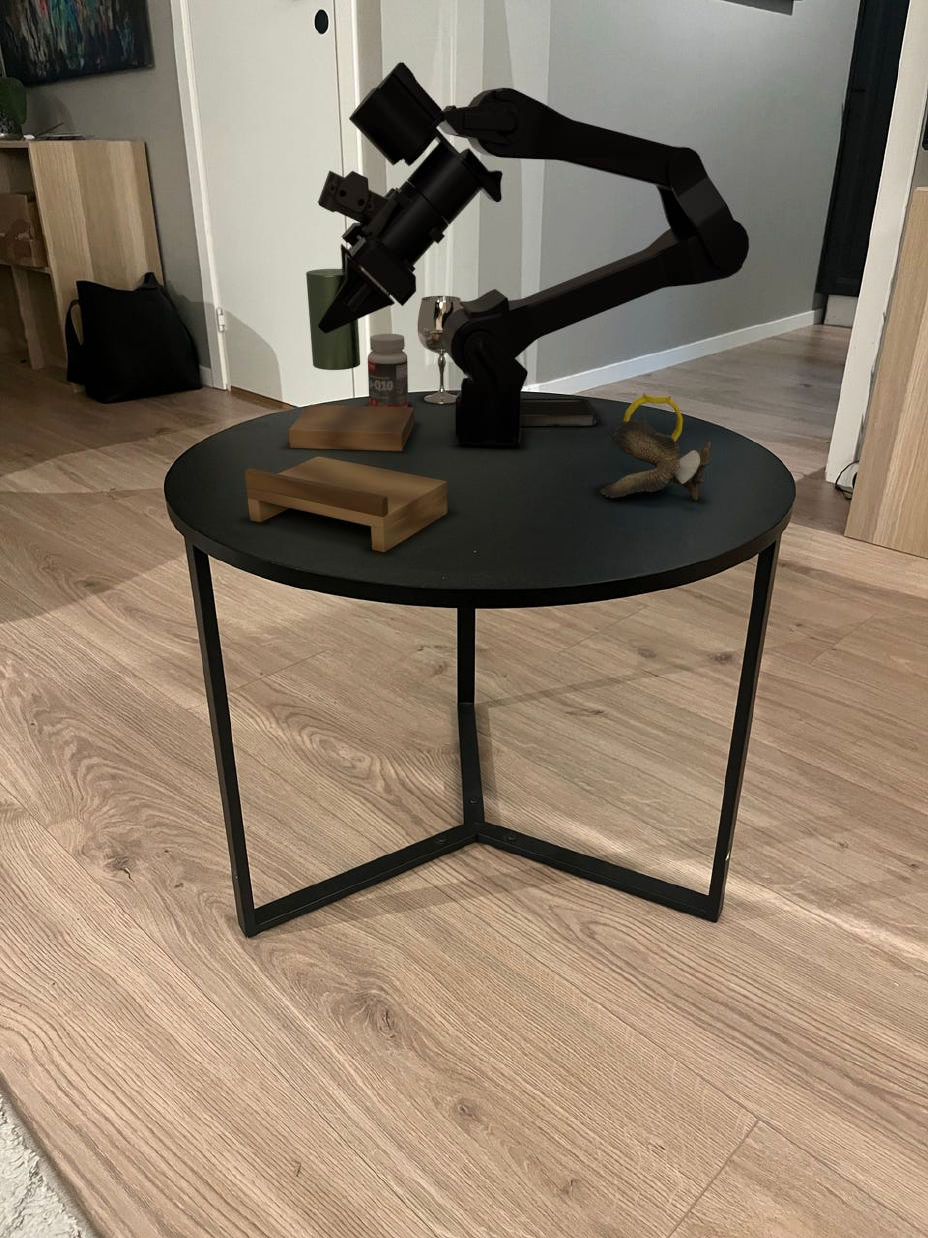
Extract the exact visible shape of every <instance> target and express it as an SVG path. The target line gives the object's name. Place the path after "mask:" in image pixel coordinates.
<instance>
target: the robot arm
mask: <svg viewBox="0 0 928 1238" xmlns="http://www.w3.org/2000/svg"><path fill="white" fill-rule="evenodd" d="M348 120H349V121H350V122H351V123H352V124H353V125H354V126H355V127H356V128H357V130H359V131H360V133H361V134H362V135H363V136H364V137H365V139H367V140H368V141H369V143H371V145H373V146H374V148H375V149H377V151H378V152H379V153H380V154H381V155H382V156H383V157H384V158H385V159H386V160H387V162H388V163H390V165H391V166H396V164H398V163H399V162H400V161H401V162H402V161H404V163H405V164H406V165H407V166H408V167H410V166H411V165H413V164H414V163H415V162H416V161H417V160H418V159H419V158H420V157H421V156H422V155H423V154H424V153H425V152H426V150H427V149H428V148H429V147H430V145H432V143H433V141H436V142H437V144H436V145H435V147H434V148H433V149H432V150H431V151H430V152H429V153H428V154H427V156H426V157H425V158H424V160H422V162H421V163H420V164H419V165H418V166H417V167H416V168H415V170H413V172H412V173H411V174H410V176H409V177H407V178H406V180H405V181H404V182H403V183H402V184H401V186H400V187H396V188H395V187H392V188H390V189H389V190H388V192H387V193H386V194H385V195H384V196H383V195H381V194H379V193H377V192H375V191H373V190H371V189H370V187H369V186H370V185H369V178H368V177H367V176H364V175H362V174H360V173H358V172H356V171H355V170H351V171H349V173H347V174H346V176H343V175H340V174H339V173H336V172H334V171H332V170H329V171H328V172H327V175H326V178H325V181H324V184H323V186H322V190H321V192H320V195H319V197H318V200H317V204H318V206H319V207H321V208H322V209H324V210H327V211H329V212H331V213H335V212H336V213H339V214H340V215H343V216H344V217H347V218H349V219H351V220H353V221H356V222H352V224H350V225H349V227H348V228H347V229H346V230H345V231H344V233H342V235H341V238H342V240H343V241H344V242H345V243H346V244H348V245H350V246H349V247H348V248H347V247H346V246H345V245H344V244H343V243H340V256H341V257H340V258H341V268H340V269H346V279H345V281H344V283H343V284H342V286H341V287H340V289H339V291H338V292H337V294H336V296H335V297H334V299H333V300H332V302H331V304H330V305H329V307H328V309H327V310H326V312H325V314H324V315H323V317H322V319H321V320H320V322H319V324H318V327H319V329H321V330H322V331H323V332H324V333H329V332H331V331H333V330H335V329H337V328H340V327H342V326H344V325H346V324H348V323H351V322H353V321H355V320H357V319H358V320H360V319H362V318H364V317H366V316H369V315H371V314H373V313H375V312H377V311H380V310H382V309H384V308H387V307H389V306H390V307H392V306H394V305H395V304H396V302H397V303H398V304H399V305H400V306H401V307H404V305H405V304H406V303H407V302H408V301H409V300H410V299H411V298H412V297H413V295H414V294H415V293H416V292H417V276H416V275H415V274H414V271H416V267H415V265H416V263H417V262H419V260H420V259H421V258H422V257H423V256H424V255H425V254H426V252H427V251H428V250H429V249H430V248H431V247H432V246H433V244H434V243H436V244H437V245H439V244H440V243H441V241H443V239H444V238H445V237H446V235H445V234H444V232H445V231H446V230H447V229H448V228H449V226H451V224H452V223H453V222H455V220H456V218H458V216H460V214H461V213H462V212H463V211H464V210H465V209H466V207H467V206H468V205H469V204H470V203H471V202H472V201H473V199H475V197H476V196H477V195H478V194H479V193H480V192H482V193H483V194H484V196H485V197H487V200H489V201H492V202H495V203H500V202H502V199H503V196H502V180H503V179H502V178H503V172H502V170H499V169H494V170H493V169H492V170H489V169H488V168H487V167H486V166H485V164H484V163H483V162H482V161H481V160H480V159H479V158H478V156H477V155H476V154H475V153H474V152H473V151H472V150H471V148H469V147H466V148H465V149H463V150H462V151H461V152H459V150H457V148H456V147H454V145H453V144H452V143H451V142H450V141H449V140H448V139H447V138H446V137H445V136H444V134H445V135H448V136H453V137H458V138H462V139H467V141H468V143H469V144H470V146H471V147H472V149H473V150H475V151H476V152H477V153H479V154H481V155H484V156H488V157H494V158H500V159H519V160H520V159H521V160H522V159H523V160H545V161H559V162H563V163H568V164H570V165H571V164H572V165H575V166H579V167H582V168H587V169H591V170H595V171H598V172H602V173H607V174H611V175H615V176H619V177H622V178H627V179H630V180H635V181H638V182H642V183H647V184H649V185H654V186H655V187H656V190H657V192H658V193H659V197H660V200H661V205H662V208H663V212H664V215H665V220H666V222H667V224H668V226H669V229H667V230H666V231H664V232H663V233H662V234H660V235H659V237H657V238H656V239H655V240H654V241H653V242H652V243H651V244H649V245H648V246H647V247H646V248H644V249H642V250H640V251H638V252H635V253H632V254H629V255H627V256H625V257H622V258H619V259H616V260H615V261H612V262H609V263H608V264H605V265H602V266H600V267H598V268H595V269H592V270H590V271H587V272H585V273H583V274H580V275H579V276H578V275H577V276H575V277H573V278H570V279H568V280H565V281H563V282H560V283H557V284H556V285H553V286H551V287H548V288H545V289H543V290H540V291H538V292H535V293H533V294H531V295H529V296H525V297H523V298H519V299H512V300H509V298H508V297H507V296H506V295H505V294H504V293H502V292H500V291H499V290H498V289H496V288H494V289H491V290H489V291H487V292H486V293H484V294H482V295H481V296H479V297H477V298H475V299H472V300H468V301H467V300H461V301H460V303H459V304H460V305H461V306H462V307H463V308H461V309H458V310H457V311H455V312H453V313H452V314H451V315H450V316H449V317H448V318H447V320H446V322H445V325H444V327H443V331H442V341H443V346H444V348H445V350H446V351H447V353H446V354H447V355H448V357H450V359H451V360H452V361H453V363H454V364H455V365H456V367H458V368H459V370H461V371H462V373H463V375H464V376H466V377H463V378H462V380H461V383H460V391H459V392H458V393H457V394H456V396H457V397H456V402H455V436H457V437H459V439H458V446H460V447H480V448H481V447H485V448H486V447H487V448H520V447H521V439H522V438H521V437H522V426H520V409H521V399H522V390H523V388H524V386H525V383H526V380H527V377H528V375H529V371H528V370H527V369H526V368H525V367H524V366H523V364H521V363H520V362H519V361H518V360H517V359H516V358H517V357H519V356H520V355H521V354H522V353H523V352H524V351H526V349H527V348H528V347H530V346H531V345H532V344H533V343H534V342H535V341H537V340H538V339H540V338H542V337H545V336H547V335H550V334H552V333H555V332H557V331H560V330H562V329H565V328H567V327H570V326H572V325H574V324H577V323H580V322H582V321H584V320H587V319H589V318H592V317H594V316H597V315H600V314H601V313H604V312H606V311H609V310H612V309H614V308H617V307H620V306H622V305H624V304H627V303H630V302H631V301H632V302H633V301H634V300H637V299H639V298H642V297H645V296H647V295H649V294H651V293H654V292H657V291H659V290H662V289H666V288H672V287H673V288H674V287H684V286H694V285H695V286H696V285H701V284H705V283H710V282H715V281H720V280H725V279H728V278H730V277H732V276H734V275H735V274H737V273H738V272H740V271H741V269H742V268H743V265H744V264H745V262H746V259H747V257H748V254H749V250H750V238H749V234H748V232H747V230H746V229H747V228H745V227H744V225H742V223H741V222H739V221H737V220H735V219H734V217H733V215H732V212H731V210H730V208H729V205H728V203H727V202H726V201H725V199H724V198H723V196H722V194H721V192H720V191H719V190H718V188H717V187H716V185H715V184H714V182H713V181H712V180H711V178H710V177H709V174H708V172H707V170H706V167H705V165H704V163H703V161H702V159H701V156H700V155H699V153H697V151H696V150H695V149H693V148H690V147H687V146H673V145H669V144H665V143H661V142H657V141H655V140H651V139H646V138H644V137H643V138H642V137H640V136H637V135H632V134H629V133H625V132H621V131H617V130H614V129H613V130H612V129H609V128H605V127H601V126H598V125H593V124H590V123H586V122H583V121H580V120H579V121H578V120H575V119H572V118H570V117H568V116H566V115H564V114H561V113H560V112H558V111H557V110H555V109H554V108H552V107H550V106H549V105H547V104H545V103H543V102H541V101H539V100H537V99H535V98H533V97H531V96H529V95H527V94H526V93H523V92H521V91H520V90H518V89H514V88H511V87H498V88H491V89H487V90H483V91H481V92H480V93H478V94H477V95H476V96H473V98H472V99H471V101H470V102H469V104H468V105H467V106H461V107H457V106H456V105H455V104H452V105H446V106H445V107H444V108H443V109H442V108H441V107H440V106H439V105H438V103H437V102H436V101H435V99H433V97H431V95H430V94H429V93H428V92H427V90H425V88H423V86H422V85H421V84H420V83H419V81H418V80H417V79H416V76H415V75H414V73H413V71H412V70H411V69H410V68H409V67H408V66H407V65H406V64H405V63H404V62H401V61H400V62H398V63H397V64H396V65H395V66H394V67H393V69H391V71H390V72H389V73H388V74H387V75H386V76H385V77H384V78H383V79H382V80H381V82H379V84H378V85H377V86H376V87H373V88H371V90H370V91H369V92H368V93H367V94H366V95H365V96H364V98H363V99H362V100H361V102H359V104H358V106H357V107H356V108H355V109H354V111H353V112H352V113H351V115H350V116H349V117H348ZM438 128H439V129H440V130H441V131H442V132H443V133H444V134H443V133H442V132H441V131H440V130H439V129H438ZM395 301H396V302H395Z"/></svg>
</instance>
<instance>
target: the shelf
mask: <svg viewBox="0 0 928 1238" xmlns="http://www.w3.org/2000/svg"><path fill="white" fill-rule="evenodd" d="M244 478H245V486H246V495H247V504H248V506H247V507H248V514H249V520H250V521H251V522H256V523H262V522H265V521H266V520H269V519H271V518H273V517H275V516H277V515H279V514H281V513H283V512H285V511H287V510H290V509H293V510H298V511H303V512H307V513H310V514H315V515H319V516H323V517H329V518H333V519H337V520H341V521H346V522H349V523H350V522H351V523H355V524H359V525H363V526H369V527H370V532H371V549H372V550H373V551H377V552H381V553H385V552H387V551H389V550H391V549H392V548H394V547H395V546H397V545H399V544H400V543H402V542H404V541H405V540H407V539H409V538H410V537H411V536H413V535H415V534H416V533H418V532H419V531H421V530H423V529H425V528H426V527H428V526H430V525H431V524H433V523H434V522H436V521H437V520H439V519H441V518H442V517H444V516H446V515H448V481H447V480H442V479H438V478H432V477H427V476H420V475H417V474H411V473H407V472H401V471H396V470H390V469H386V468H382V467H375V466H370V465H367V464H366V465H365V464H360V463H355V462H351V461H344V460H340V459H334V458H329V457H324V456H319V455H318V456H315V457H313V458H310V459H309V460H306V461H304V462H302V463H299V464H297V465H295V466H292V467H290V468H288V469H286V470H283V471H281V472H278V473H276V472H271V471H267V470H262V469H258V468H257V469H256V468H252V467H249V468H247V469H245V470H244Z"/></svg>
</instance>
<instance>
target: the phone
mask: <svg viewBox="0 0 928 1238" xmlns="http://www.w3.org/2000/svg"><path fill="white" fill-rule="evenodd" d="M597 419H598V412H597V410H596V409H595V407H594V405H593V404H592V402H591V400H590V399H587V398H575V397H574V398H569V397H568V398H521V409H520V427H531V426H532V427H546V426H547V427H554V426H556V427H558V426H560V427H562V426H565V427H566V426H568V427H569V426H570V427H571V426H574V427H575V426H576V427H579V426H594V425H597Z"/></svg>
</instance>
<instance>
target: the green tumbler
mask: <svg viewBox="0 0 928 1238" xmlns="http://www.w3.org/2000/svg"><path fill="white" fill-rule="evenodd" d="M305 276H306V277H305V278H306V289H307V300H308V301H307V303H308V304H307V306H308V317H309V330H310V331H309V332H310V341H311V342H310V343H311V356H312V366H313V367H314V368H316V369H318V370H324V371H344V370H351V369H355V368H358V367H359V366H361V349H360V332H359V329H360V328H359V319H357V320H355V321H353V322H351V323H348V324H346V325H344V326H342V327H340V328H337V329H335V330H333V331H331V332H329V333H324V332H323V331H322V330H321V329H319V327H318V324H319V322H320V320H321V319H322V317H323V315H324V314H325V312H326V310H327V309H328V307H329V305H330V304H331V302H332V300H333V299H334V297H335V296H336V294H337V292H338V291H339V289H340V287H341V286H342V284H343V283H344V281H345V279H346V269H341V268H319V269H318V268H317V269H312V270H308V271H306V272H305Z"/></svg>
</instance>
